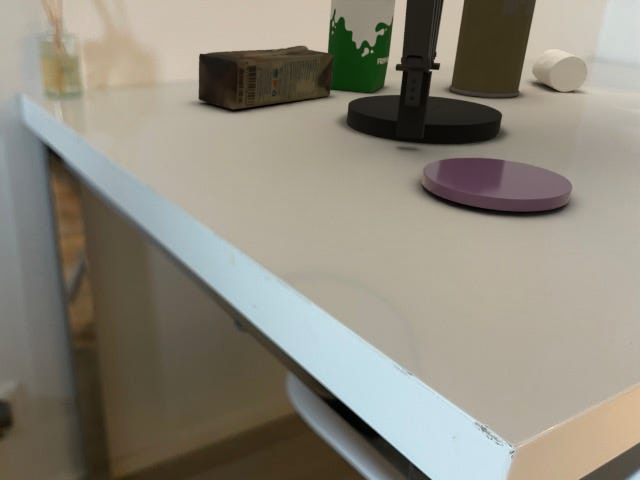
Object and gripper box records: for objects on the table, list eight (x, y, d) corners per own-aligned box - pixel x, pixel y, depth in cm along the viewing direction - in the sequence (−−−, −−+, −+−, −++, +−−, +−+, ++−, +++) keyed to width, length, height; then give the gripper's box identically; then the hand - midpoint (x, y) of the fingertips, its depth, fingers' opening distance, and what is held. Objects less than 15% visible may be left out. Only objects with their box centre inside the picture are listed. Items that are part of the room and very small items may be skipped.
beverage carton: (334, 96, 95) (337, 48, 92) (234, 113, 83) (234, 58, 80) (294, 88, 100) (296, 42, 97) (194, 103, 88) (193, 51, 85)
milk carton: (376, 94, 98) (392, -59, 89) (318, 88, 101) (328, -60, 92) (391, 86, 105) (407, -56, 96) (336, 81, 108) (347, -57, 99)
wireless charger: (378, 145, 70) (380, 126, 69) (328, 111, 86) (329, 95, 85) (529, 141, 73) (533, 123, 73) (454, 109, 89) (456, 94, 88)
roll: (556, 80, 115) (563, 46, 112) (583, 92, 104) (592, 55, 102) (521, 79, 115) (528, 45, 112) (545, 91, 104) (553, 53, 102)
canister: (480, 99, 96) (507, -56, 87) (435, 87, 104) (455, -55, 96) (536, 96, 100) (567, -53, 91) (488, 84, 109) (512, -53, 100)
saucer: (564, 181, 60) (568, 166, 59) (573, 225, 50) (578, 207, 49) (429, 166, 63) (431, 151, 63) (411, 203, 53) (414, 187, 52)
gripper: (410, -122, 65) (383, 120, 75) (388, -141, 54) (361, 146, 64) (490, -123, 63) (451, 127, 73) (484, -143, 52) (440, 155, 62)
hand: (409, 136), depth 69 cm, fingers closed
